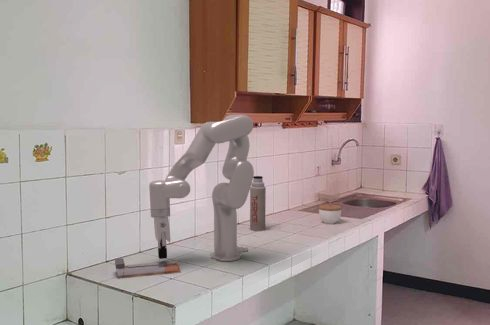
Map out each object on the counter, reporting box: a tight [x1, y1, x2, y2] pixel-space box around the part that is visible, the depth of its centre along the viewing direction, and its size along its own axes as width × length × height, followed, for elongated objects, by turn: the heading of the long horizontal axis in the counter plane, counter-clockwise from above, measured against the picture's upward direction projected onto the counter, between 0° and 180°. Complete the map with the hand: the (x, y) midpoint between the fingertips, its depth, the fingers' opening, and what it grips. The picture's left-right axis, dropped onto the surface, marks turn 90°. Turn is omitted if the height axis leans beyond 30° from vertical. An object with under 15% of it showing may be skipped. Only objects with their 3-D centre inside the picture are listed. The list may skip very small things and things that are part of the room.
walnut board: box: [115, 264, 182, 279], centre depth 190 cm, size 23×15×1 cm, turn 108°
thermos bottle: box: [249, 175, 267, 232], centre depth 260 cm, size 8×8×28 cm
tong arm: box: [127, 260, 180, 269], centre depth 189 cm, size 19×3×2 cm, turn 107°
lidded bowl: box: [318, 202, 343, 225], centre depth 278 cm, size 13×13×11 cm
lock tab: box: [114, 258, 126, 270], centre depth 184 cm, size 3×7×2 cm, turn 18°
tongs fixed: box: [116, 264, 178, 278], centre depth 187 cm, size 22×7×3 cm, turn 108°
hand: (162, 257), depth 197 cm, fingers closed
